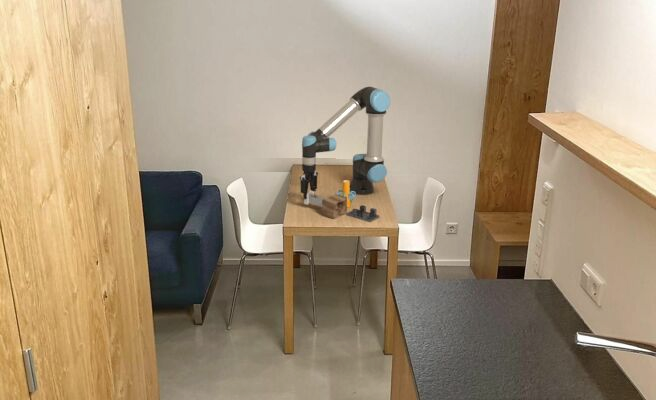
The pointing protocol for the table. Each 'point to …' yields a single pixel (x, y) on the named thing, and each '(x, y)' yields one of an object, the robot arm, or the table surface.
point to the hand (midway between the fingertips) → (308, 202)
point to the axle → (315, 199)
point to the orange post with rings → (347, 192)
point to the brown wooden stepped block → (334, 206)
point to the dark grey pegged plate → (363, 214)
